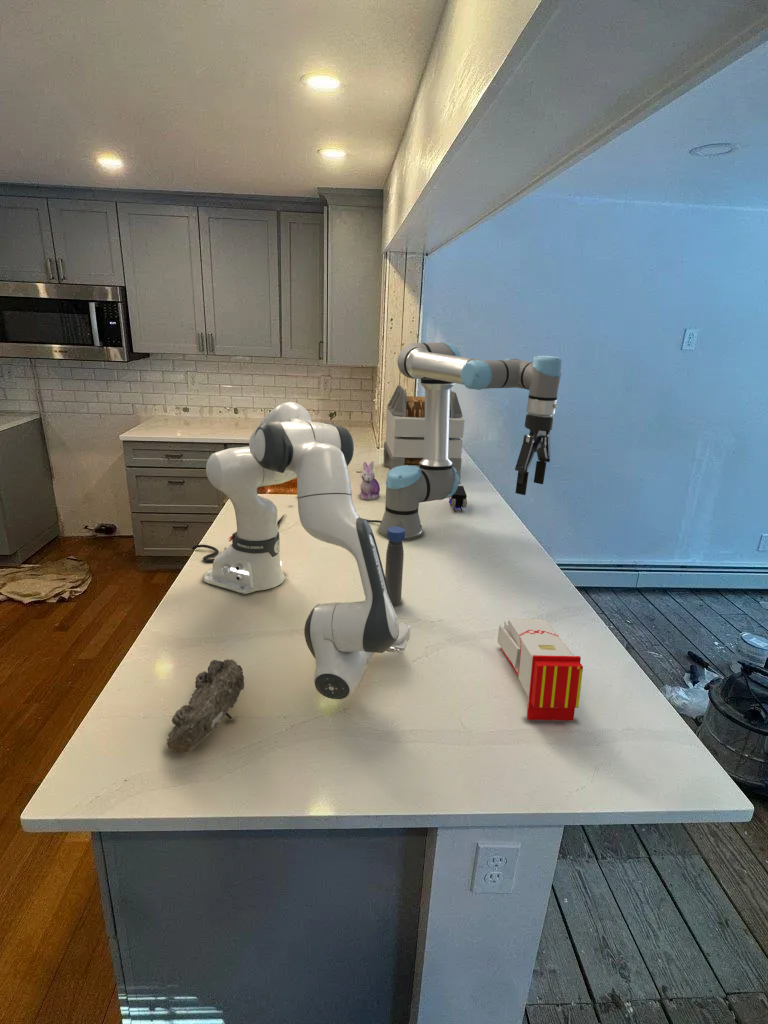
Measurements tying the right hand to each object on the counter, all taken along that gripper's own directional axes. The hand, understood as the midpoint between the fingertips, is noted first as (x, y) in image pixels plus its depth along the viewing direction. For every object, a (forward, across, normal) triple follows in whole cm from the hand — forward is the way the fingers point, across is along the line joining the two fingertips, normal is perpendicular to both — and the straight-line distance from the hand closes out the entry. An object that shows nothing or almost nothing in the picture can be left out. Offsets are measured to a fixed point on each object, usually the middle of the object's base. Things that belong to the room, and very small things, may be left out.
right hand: (529, 488), depth 162 cm
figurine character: (+28, +44, +44) cm, 68 cm away
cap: (+7, -37, +20) cm, 43 cm away
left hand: (+22, -55, +14) cm, 60 cm away
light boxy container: (+29, +76, +82) cm, 116 cm away
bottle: (+28, -37, +20) cm, 51 cm away
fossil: (+28, -97, +21) cm, 103 cm away
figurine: (+29, +30, +79) cm, 89 cm away
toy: (+28, -46, -23) cm, 59 cm away
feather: (+28, -12, +87) cm, 92 cm away
